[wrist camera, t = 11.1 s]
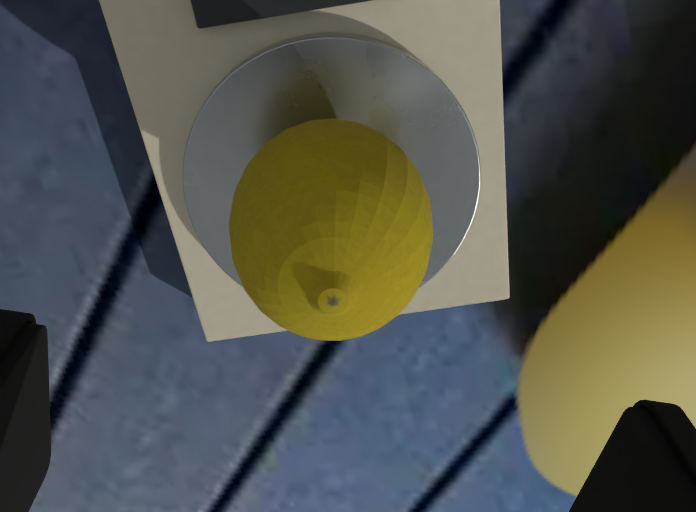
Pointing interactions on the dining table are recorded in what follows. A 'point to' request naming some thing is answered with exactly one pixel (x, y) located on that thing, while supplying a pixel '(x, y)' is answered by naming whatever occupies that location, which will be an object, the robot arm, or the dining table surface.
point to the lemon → (331, 229)
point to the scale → (314, 104)
